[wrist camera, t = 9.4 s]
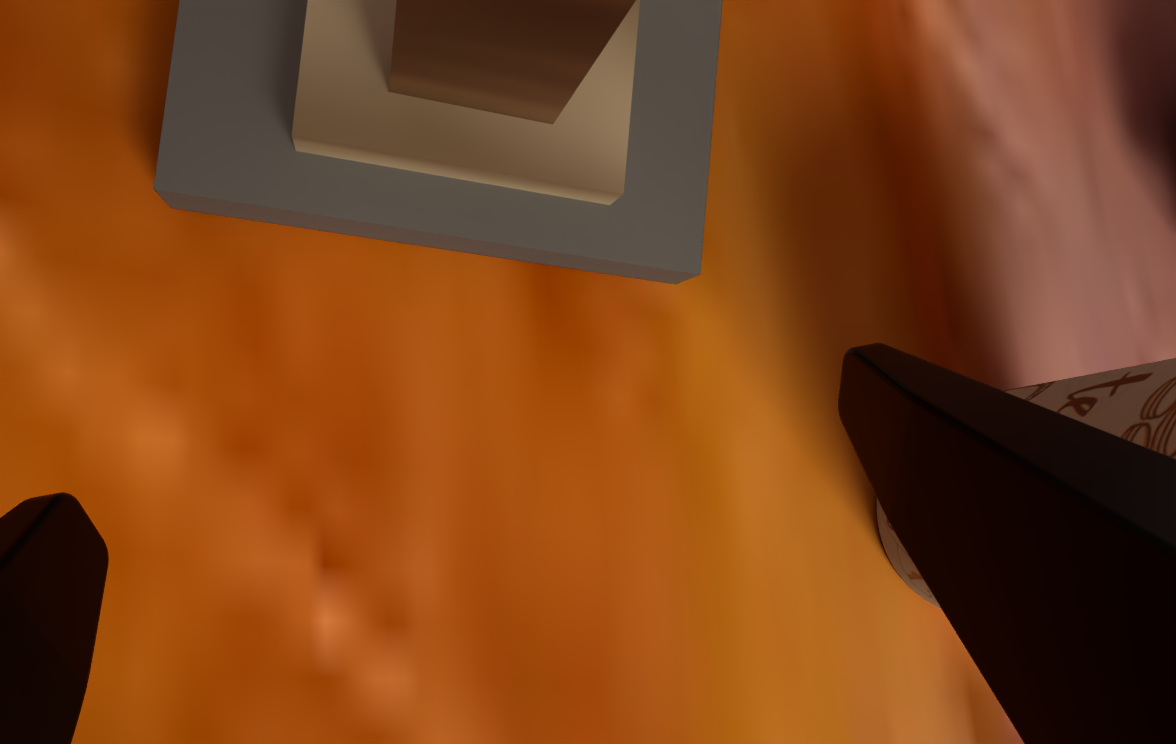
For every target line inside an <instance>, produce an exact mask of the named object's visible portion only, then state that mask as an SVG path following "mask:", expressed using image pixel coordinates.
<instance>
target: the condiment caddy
mask: <svg viewBox="0 0 1176 744" xmlns="http://www.w3.org/2000/svg"><path fill="white" fill-rule="evenodd" d="M639 8H640V0H308V2H307V11H306V19H305V27H304V36H303V44H302V52H301V61H300V69H299V78H298V86H297V94H296V103H295V111H294V119H293V128H292V138H293V142H294V146H295V150H296V151H299V152H305V153H311V154H317V155H323V156H328V157H334V158H340V159H346V160H351V161H357V162H363V163H369V164H375V165H380V166H386V167H392V168H398V169H403V170H409V171H415V172H421V173H427V174H432V175H438V176H444V177H450V178H455V179H461V180H467V181H473V182H479V183H484V184H490V185H496V186H502V187H508V188H513V189H519V190H525V191H531V192H536V193H542V194H548V195H554V196H560V197H565V198H571V199H577V200H583V201H588V202H594V203H600V204H606V205H611V204H612V203H613V202H614V201H616V200H617V199H618V198H619V197H620V196H622V195H623V194H624V183H625V172H626V160H627V148H628V136H629V125H630V113H631V101H632V90H633V78H634V66H635V55H636V43H637V31H638V19H639Z"/></svg>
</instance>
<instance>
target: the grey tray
mask: <svg viewBox="0 0 1176 744" xmlns="http://www.w3.org/2000/svg"><path fill="white" fill-rule="evenodd" d="M307 2H308V0H179V7H178V14H177V22H176V29H175V36H174V43H173V51H172V58H171V65H170V73H169V80H168V87H167V94H166V102H165V109H164V116H163V124H162V131H161V138H160V146H159V153H158V160H157V167H156V175H155V182H154V190H155V191H156V192H157V193H158V194H159V195H160V196H161V198H162V199H163V200H164V201H165V202H166V203H167V204H168V205H169V206H170V207H171V208H175V209H182V210H188V211H195V212H202V213H208V214H215V215H222V216H228V217H235V218H241V219H248V220H255V221H261V222H268V223H274V224H281V225H288V226H294V227H301V228H308V229H314V230H321V231H327V232H334V233H341V234H347V235H354V236H360V237H367V238H374V239H380V240H387V241H393V242H400V243H407V244H413V245H420V246H427V247H433V248H440V249H446V250H453V251H460V252H466V253H473V254H479V255H486V256H493V257H499V258H506V259H513V260H519V261H526V262H532V263H539V264H546V265H552V266H559V267H565V268H572V269H579V270H585V271H592V272H599V273H605V274H612V275H618V276H625V277H632V278H638V279H645V280H651V281H658V282H665V283H671V284H678V283H680V282H683V281H685V280H688V279H690V278H693V277H695V276H698V275H700V271H701V259H702V246H703V234H704V221H705V209H706V197H707V184H708V172H709V160H710V147H711V135H712V122H713V110H714V98H715V85H716V73H717V61H718V48H719V36H720V23H721V11H722V0H640V8H639V19H638V31H637V43H636V55H635V66H634V78H633V90H632V101H631V113H630V125H629V136H628V148H627V160H626V172H625V183H624V194H623V195H622V196H620V197H619V198H618V199H617V200H616V201H614V202H613V203H612V204H611V205H606V204H600V203H594V202H588V201H583V200H577V199H571V198H565V197H560V196H554V195H548V194H542V193H536V192H531V191H525V190H519V189H513V188H508V187H502V186H496V185H490V184H484V183H479V182H473V181H467V180H461V179H455V178H450V177H444V176H438V175H432V174H427V173H421V172H415V171H409V170H403V169H398V168H392V167H386V166H380V165H375V164H369V163H363V162H357V161H351V160H346V159H340V158H334V157H328V156H323V155H317V154H311V153H305V152H299V151H296V150H295V146H294V142H293V138H292V128H293V119H294V111H295V103H296V94H297V86H298V78H299V69H300V61H301V52H302V44H303V36H304V27H305V19H306V11H307Z"/></svg>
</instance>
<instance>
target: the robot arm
mask: <svg viewBox="0 0 1176 744" xmlns="http://www.w3.org/2000/svg"><path fill="white" fill-rule="evenodd" d="M838 410H839V415H840V418H841V421H842V424H843V426H844V428H845V430H846V432H847V435H848V437H849V439H850V441H851V443H852V445H853V447H854V450H855V452H856V454H857V456H858V458H859V460H860V463H861V465H862V467H863V469H864V471H865V473H866V475H867V478H868V480H869V482H870V484H871V486H872V488H873V491H874V493H875V495H876V497H877V499H878V501H879V503H880V506H881V508H882V510H883V512H884V514H885V516H886V518H887V520H888V522H889V523H890V525H891V527H892V529H893V530H894V532H895V534H896V535H897V537H898V539H899V541H900V542H901V544H902V545H903V547H904V549H905V550H906V552H907V554H908V555H909V557H910V558H911V560H912V562H913V563H914V565H915V567H916V568H917V570H918V571H919V573H920V575H921V576H922V578H923V579H924V581H925V583H926V584H927V586H928V588H929V589H930V591H931V592H932V594H933V596H934V597H935V599H936V601H937V602H938V604H939V605H940V607H941V609H942V610H943V612H944V614H945V615H946V617H947V618H948V620H949V622H950V623H951V625H952V627H953V628H954V630H955V631H956V633H957V635H958V636H959V638H960V640H961V641H962V643H963V644H964V646H965V648H966V649H967V651H968V653H969V654H970V656H971V657H972V659H973V661H974V662H975V664H976V666H977V667H978V669H979V670H980V672H981V674H982V675H983V677H984V679H985V680H986V682H987V683H988V685H989V687H990V688H991V690H992V692H993V693H994V695H995V696H996V698H997V700H998V701H999V703H1000V705H1001V706H1002V708H1003V709H1004V711H1005V713H1006V714H1007V716H1008V718H1009V719H1010V721H1011V722H1012V724H1013V726H1014V727H1015V729H1016V731H1017V732H1018V734H1019V735H1020V737H1021V739H1022V740H1023V742H1024V744H1176V459H1174V458H1172V457H1169V456H1167V455H1164V454H1162V453H1159V452H1157V451H1154V450H1152V449H1149V448H1146V447H1144V446H1141V445H1139V444H1136V443H1134V442H1131V441H1129V440H1126V439H1124V438H1121V437H1119V436H1116V435H1113V434H1111V433H1108V432H1106V431H1103V430H1101V429H1098V428H1096V427H1093V426H1091V425H1088V424H1086V423H1083V422H1080V421H1078V420H1075V419H1073V418H1070V417H1068V416H1065V415H1063V414H1060V413H1058V412H1055V411H1052V410H1050V409H1047V408H1045V407H1042V406H1040V405H1037V404H1035V403H1032V402H1030V401H1027V400H1025V399H1022V398H1019V397H1017V396H1014V395H1012V394H1009V393H1007V392H1004V391H1002V390H999V389H997V388H994V387H992V386H989V385H986V384H984V383H981V382H979V381H976V380H974V379H971V378H969V377H966V376H964V375H961V374H959V373H956V372H953V371H951V370H948V369H946V368H943V367H941V366H938V365H936V364H933V363H931V362H928V361H926V360H923V359H920V358H918V357H915V356H913V355H910V354H908V353H905V352H903V351H900V350H898V349H895V348H893V347H890V346H887V345H885V344H882V343H874V344H869V345H864V346H858V347H853V348H850V349H849V350H848V351H847V352H846V353H845V355H844V359H843V364H842V373H841V382H840V390H839V399H838ZM108 561H109V559H108V550H107V547H106V544H105V542H104V540H103V538H102V537H101V535H100V534H99V532H98V530H97V529H96V527H95V526H94V524H93V523H92V521H91V520H90V518H89V517H88V515H87V514H86V512H85V511H84V509H83V507H82V506H81V504H80V503H79V501H78V500H77V499H76V498H75V497H74V496H72V495H71V494H68V493H64V492H63V493H56V494H50V495H45V496H39V497H34V498H30V499H27V500H25V501H23V502H21V503H20V504H19V505H17V506H16V507H14V508H13V509H12V510H10V511H9V512H8V513H6V514H5V515H4V516H2V517H1V518H0V744H71V742H72V738H73V735H74V732H75V728H76V725H77V721H78V718H79V714H80V711H81V707H82V703H83V700H84V696H85V692H86V688H87V683H88V679H89V674H90V669H91V663H92V658H93V652H94V646H95V640H96V634H97V628H98V622H99V616H100V611H101V605H102V599H103V593H104V587H105V581H106V575H107V569H108Z"/></svg>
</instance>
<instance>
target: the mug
mask: <svg viewBox="0 0 1176 744" xmlns="http://www.w3.org/2000/svg"><path fill="white" fill-rule="evenodd" d="M1004 392H1007V393H1009V394H1012V395H1014V396H1017V397H1019V398H1022V399H1025V400H1027V401H1030V402H1032V403H1035V404H1037V405H1040V406H1042V407H1045V408H1047V409H1050V410H1052V411H1055V412H1058V413H1060V414H1063V415H1065V416H1068V417H1070V418H1073V419H1075V420H1078V421H1080V422H1083V423H1086V424H1088V425H1091V426H1093V427H1096V428H1098V429H1101V430H1103V431H1106V432H1108V433H1111V434H1113V435H1116V436H1119V437H1121V438H1124V439H1126V440H1129V441H1131V442H1134V443H1136V444H1139V445H1141V446H1144V447H1146V448H1149V449H1152V450H1154V451H1157V452H1159V453H1162V454H1164V455H1167V456H1169V457H1172V458H1174V459H1176V358H1174V359H1168V360H1163V361H1158V362H1153V363H1147V364H1142V365H1137V366H1132V367H1126V368H1121V369H1116V370H1110V371H1105V372H1100V373H1095V374H1089V375H1084V376H1079V377H1074V378H1068V379H1063V380H1058V381H1053V382H1047V383H1042V384H1037V385H1032V386H1026V387H1021V388H1016V389H1010V390H1005V391H1004ZM877 520H878V526H879V532H880V536H881V540H882V543H883V546H884V549H885V551H886V553H887V556H888V558H889V560H890V562H891V563H892V565H893V567H894V569H895V570H896V571H897V573H898V574H899V576H900V577H901V578H902V579H903V580H904V582H905V583H906V584H907V585H908V586H909V587H910V588H911V589H912V590H913V591H915V592H916V593H917V594H919V595H920V596H921V597H923V598H924V599H926V600H927V601H929V602H931V603H932V604H934V605H936V606H937V607H939V608H941V607H940V605H939V604H938V602H937V601H936V599H935V597H934V596H933V594H932V592H931V591H930V589H929V588H928V586H927V584H926V583H925V581H924V579H923V578H922V576H921V575H920V573H919V571H918V570H917V568H916V567H915V565H914V563H913V562H912V560H911V558H910V557H909V555H908V554H907V552H906V550H905V549H904V547H903V545H902V544H901V542H900V541H899V539H898V537H897V535H896V534H895V532H894V530H893V529H892V527H891V525H890V523H889V522H888V520H887V518H886V516H885V514H884V512H883V510H882V508H881V506H880V503H879V501H878V499H877Z"/></svg>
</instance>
